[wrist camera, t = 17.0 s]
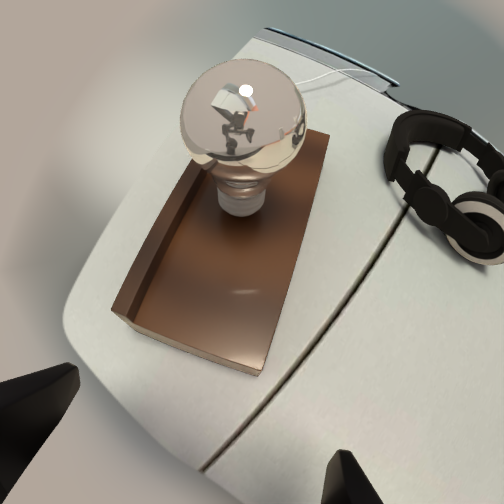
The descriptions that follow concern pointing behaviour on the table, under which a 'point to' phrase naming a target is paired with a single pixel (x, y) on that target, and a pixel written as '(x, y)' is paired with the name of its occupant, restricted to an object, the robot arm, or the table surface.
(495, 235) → the headphones
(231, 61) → the light bulb
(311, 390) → the table surface
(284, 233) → the brown wooden tray
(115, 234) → the table surface
